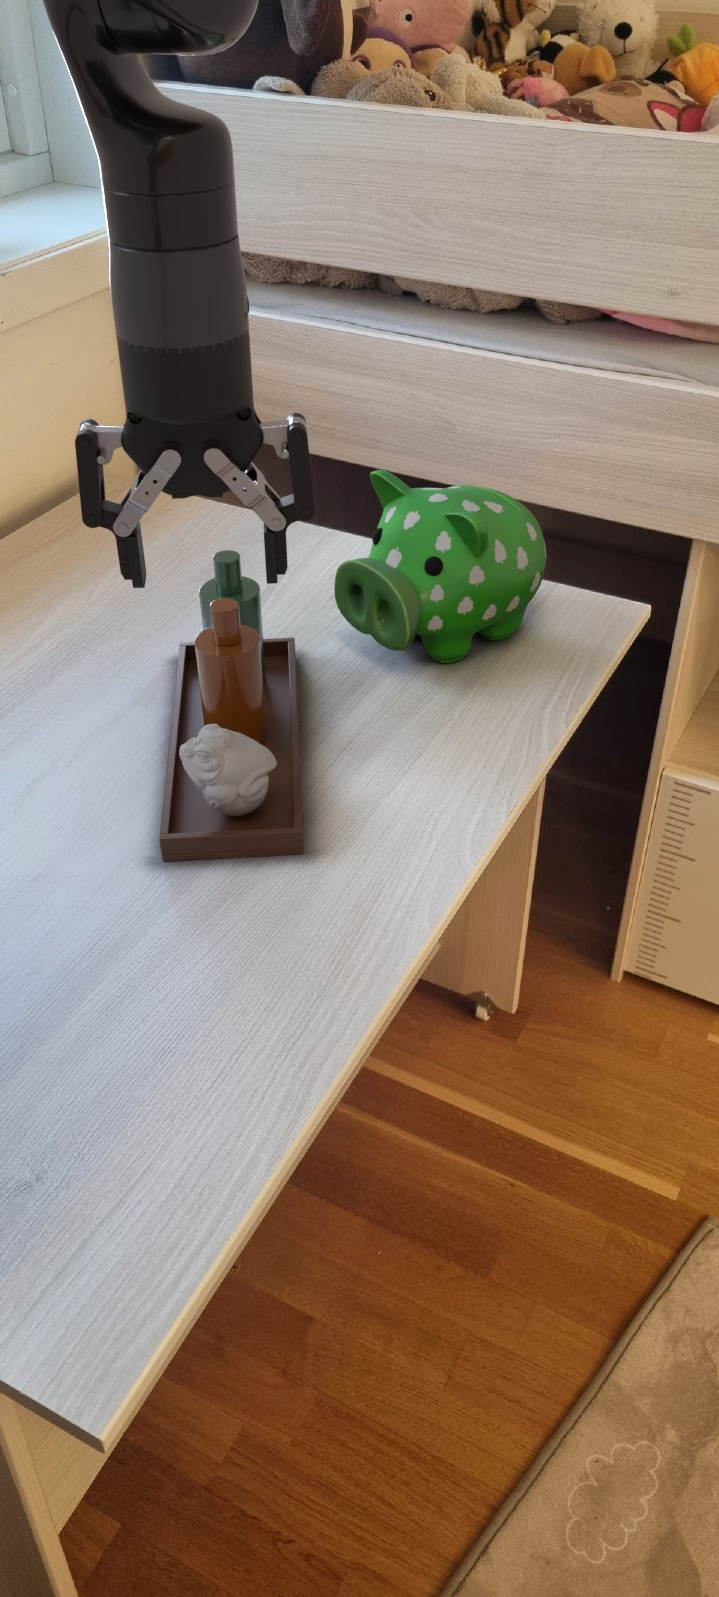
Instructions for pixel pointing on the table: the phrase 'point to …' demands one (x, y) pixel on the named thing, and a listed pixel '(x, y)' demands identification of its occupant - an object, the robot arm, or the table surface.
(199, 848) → the tray
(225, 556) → the green bottle
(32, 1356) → the table surface
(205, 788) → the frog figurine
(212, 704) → the amber bottle
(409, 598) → the piggy bank
